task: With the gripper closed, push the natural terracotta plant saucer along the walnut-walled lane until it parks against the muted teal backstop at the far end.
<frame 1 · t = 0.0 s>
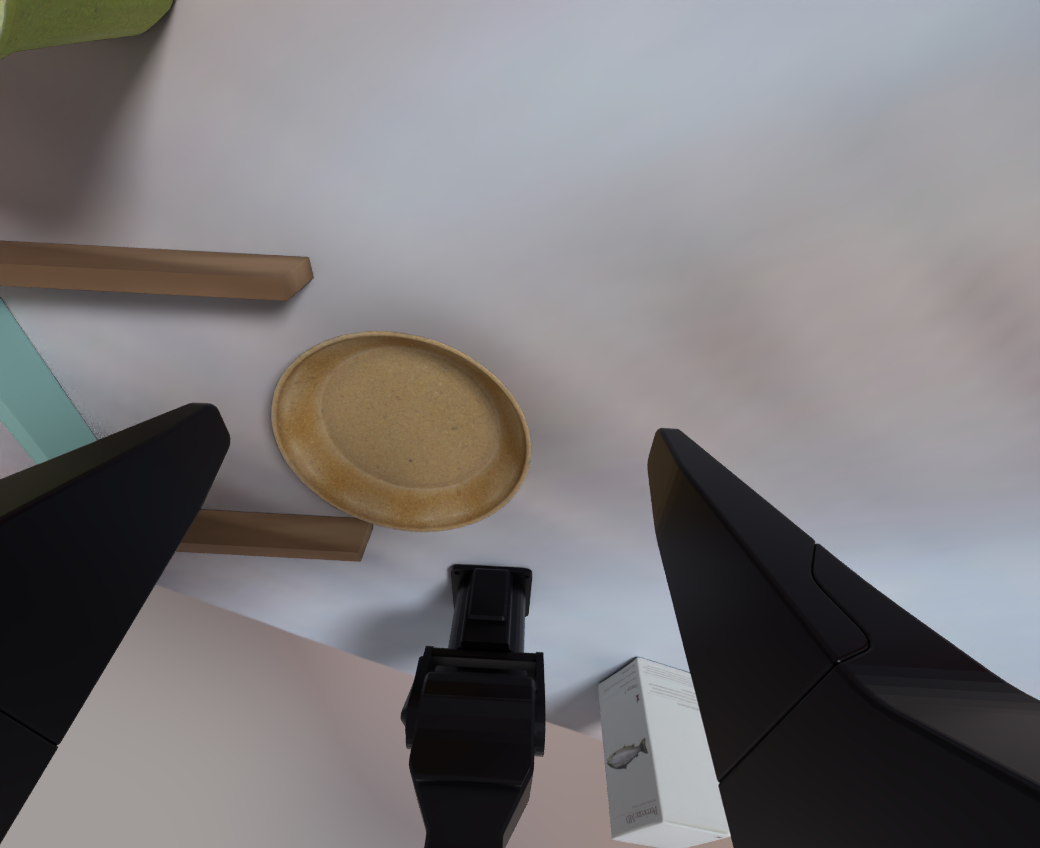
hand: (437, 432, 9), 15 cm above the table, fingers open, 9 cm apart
lane walls: (219, 414, 28), on the table
plant saucer: (414, 420, 28), on the table
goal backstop: (66, 406, 28), on the table
supplement box: (643, 676, 47), on the table
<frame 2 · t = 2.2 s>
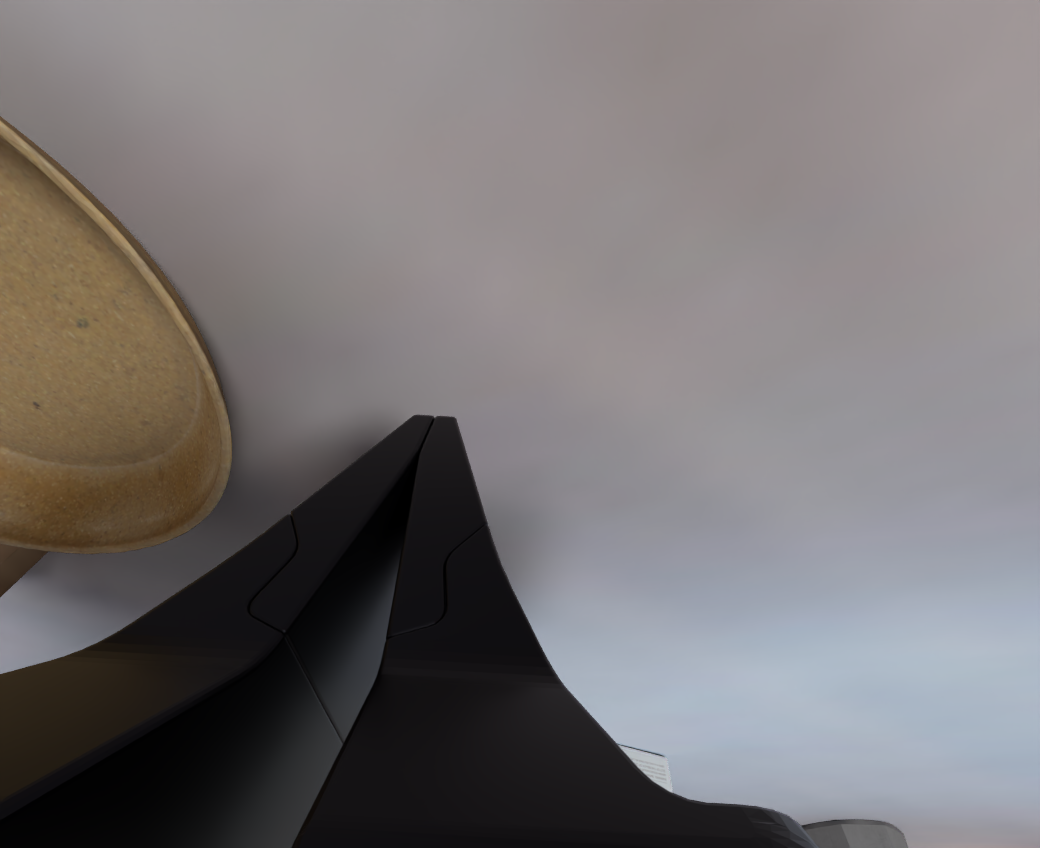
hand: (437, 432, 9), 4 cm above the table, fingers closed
plant saucer: (7, 310, 13), on the table
supplement box: (593, 756, 32), on the table
coffeepot: (840, 826, 40), on the table
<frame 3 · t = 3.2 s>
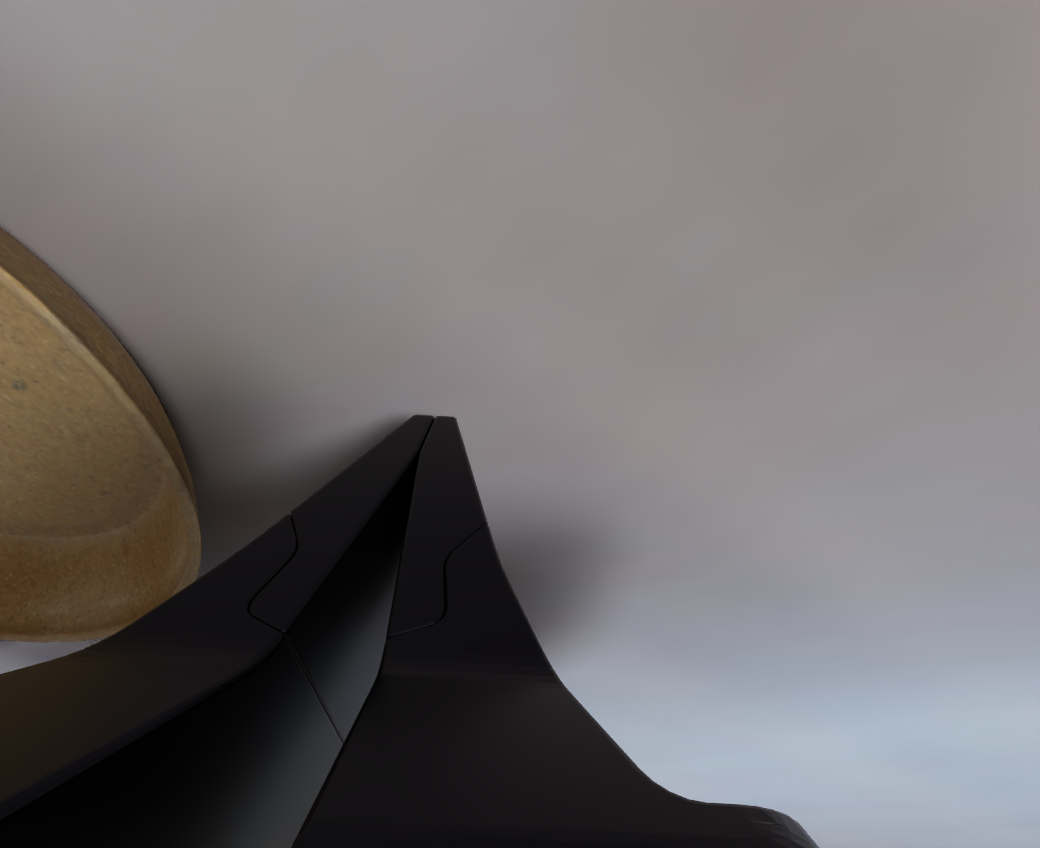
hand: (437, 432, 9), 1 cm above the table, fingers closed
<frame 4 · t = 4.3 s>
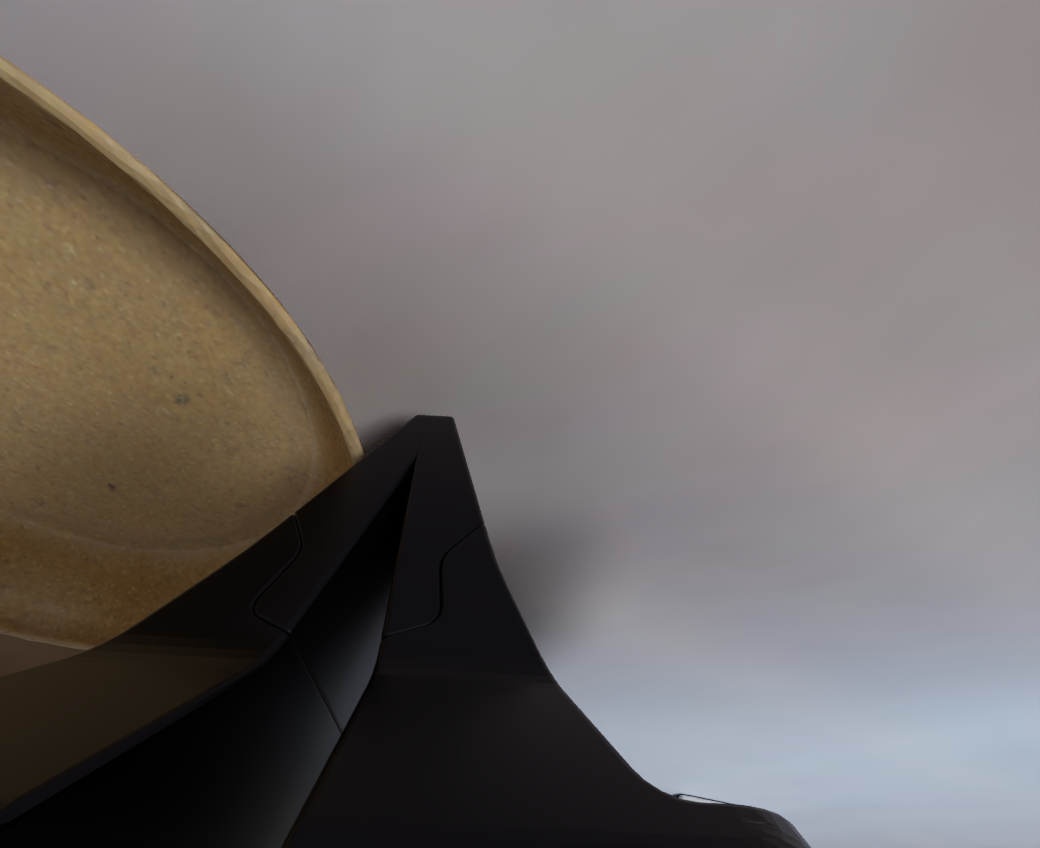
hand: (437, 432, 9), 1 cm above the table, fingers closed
plant saucer: (85, 380, 10), on the table
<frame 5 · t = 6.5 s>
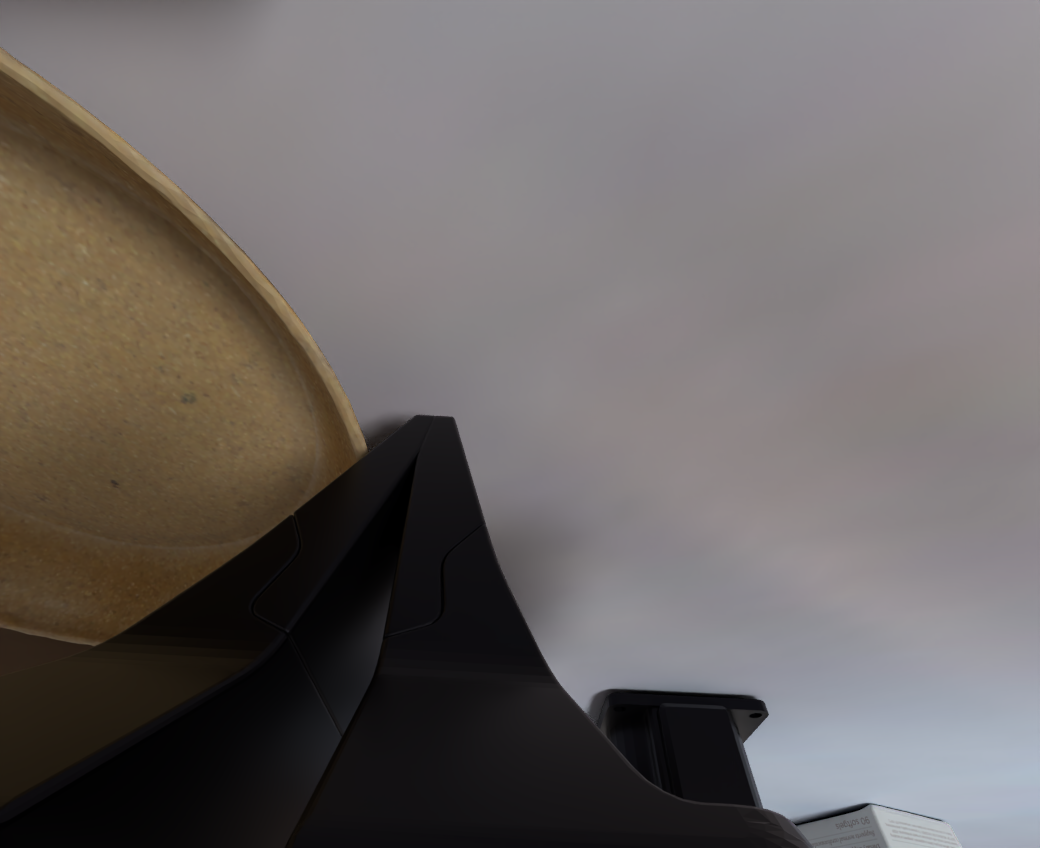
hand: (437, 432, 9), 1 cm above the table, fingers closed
lane walls: (91, 388, 10), on the table
plant saucer: (91, 378, 10), on the table, touching gripper
supplement box: (857, 820, 30), on the table
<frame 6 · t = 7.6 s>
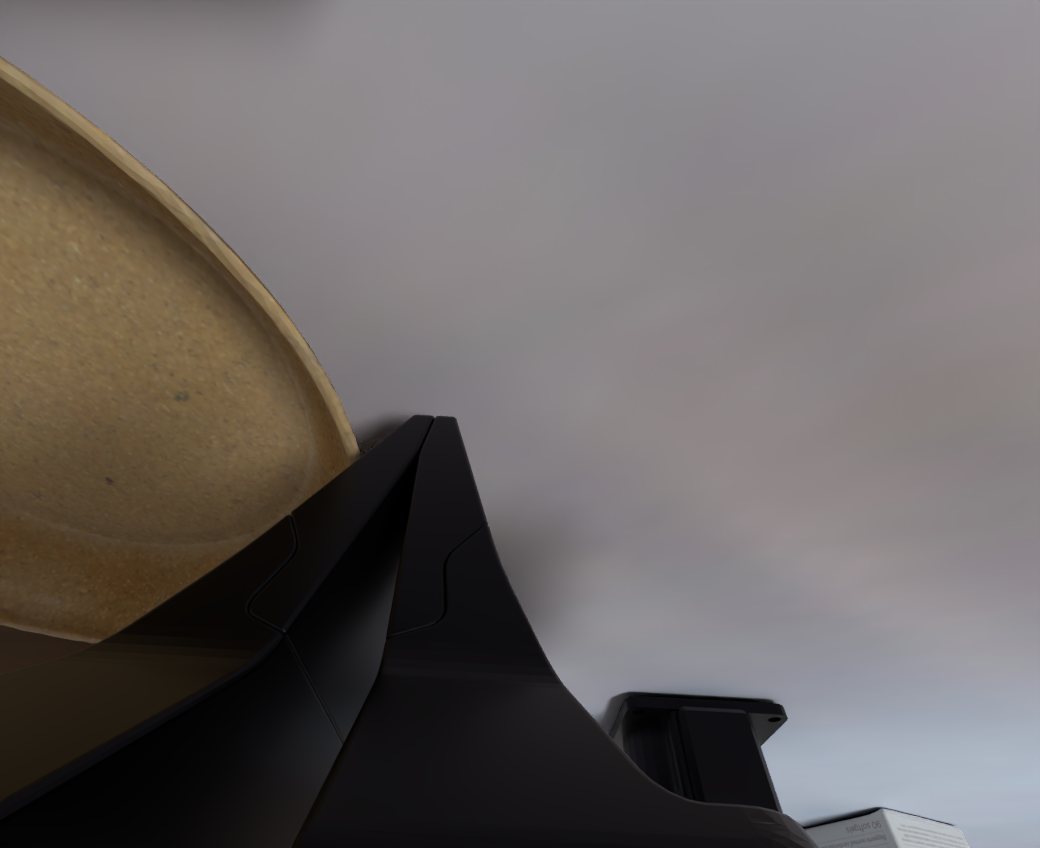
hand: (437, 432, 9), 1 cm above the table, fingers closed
lane walls: (125, 387, 10), on the table
plant saucer: (85, 376, 11), on the table
supplement box: (866, 823, 30), on the table
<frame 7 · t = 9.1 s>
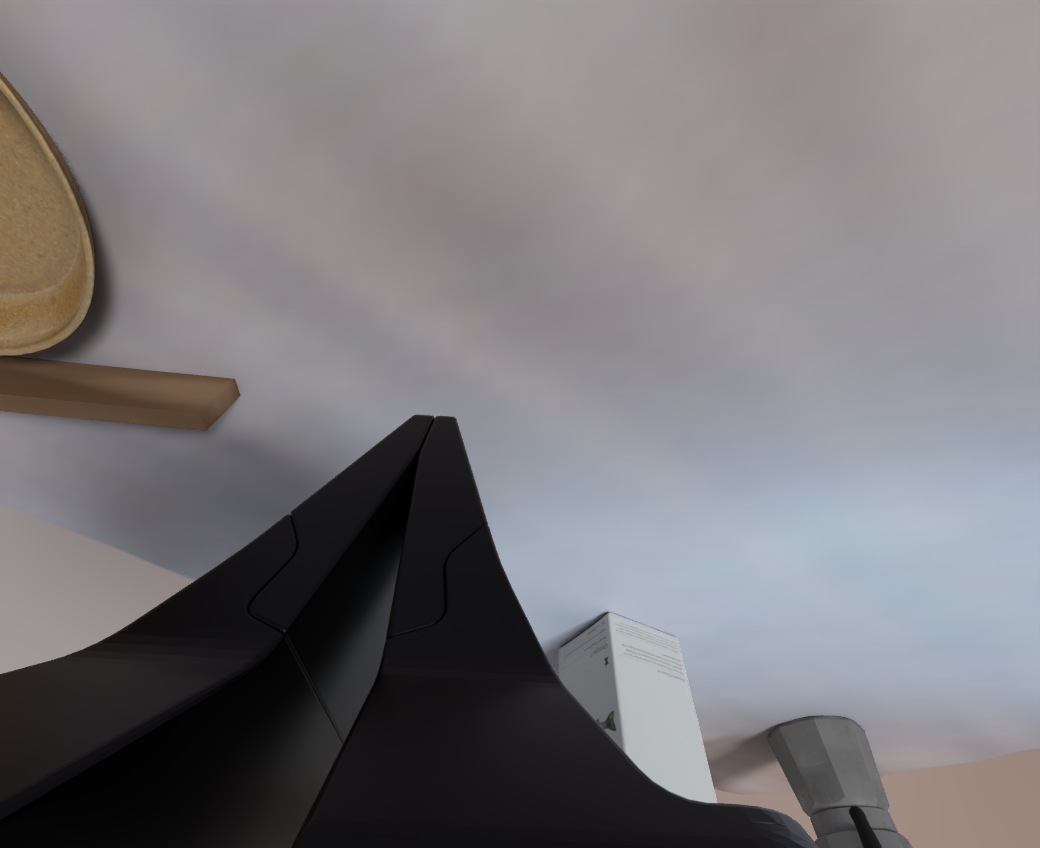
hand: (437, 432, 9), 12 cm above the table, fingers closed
supplement box: (615, 639, 38), on the table
coffeepot: (812, 726, 47), on the table
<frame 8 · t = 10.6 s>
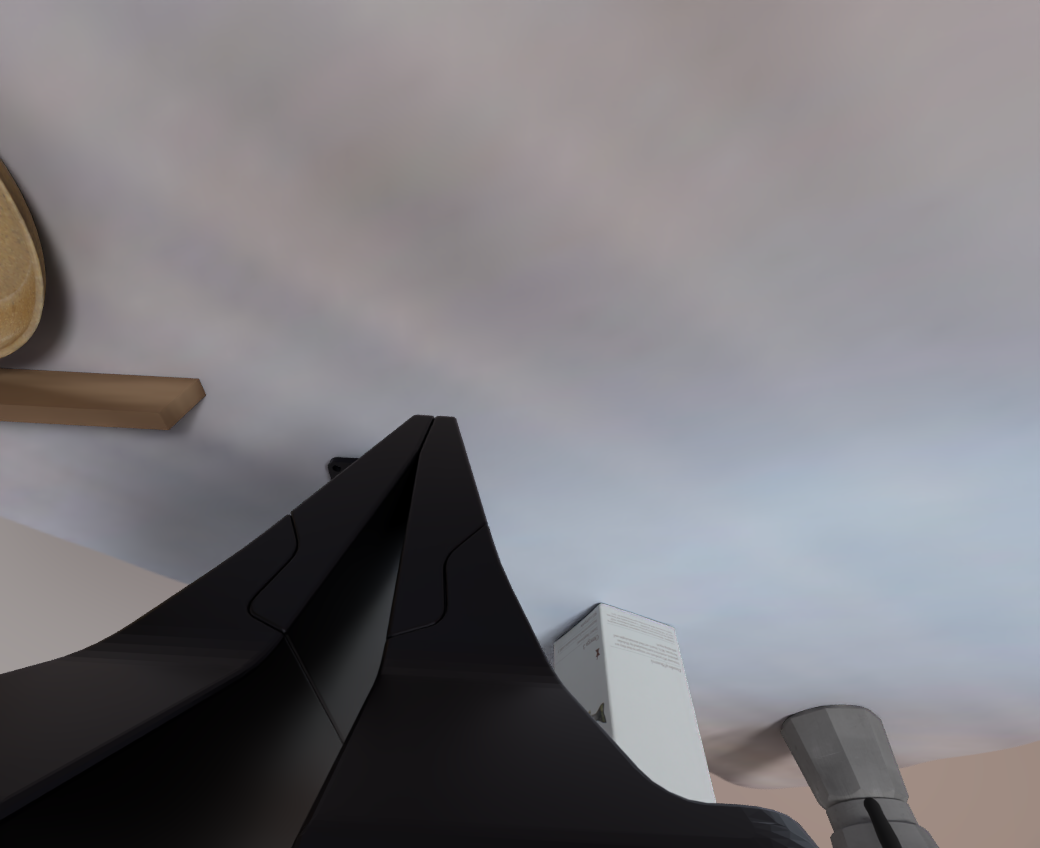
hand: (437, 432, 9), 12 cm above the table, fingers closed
supplement box: (611, 631, 37), on the table
coffeepot: (825, 716, 45), on the table
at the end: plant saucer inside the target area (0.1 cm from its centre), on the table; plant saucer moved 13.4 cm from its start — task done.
